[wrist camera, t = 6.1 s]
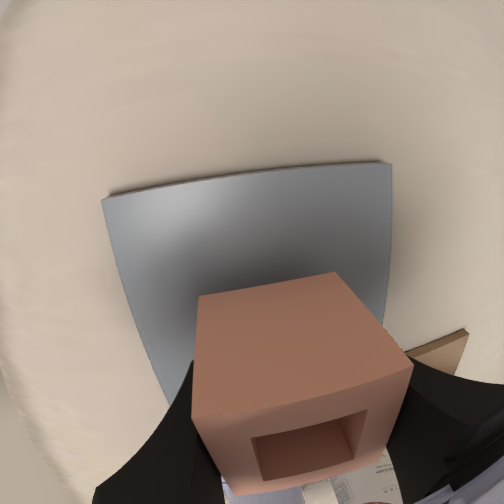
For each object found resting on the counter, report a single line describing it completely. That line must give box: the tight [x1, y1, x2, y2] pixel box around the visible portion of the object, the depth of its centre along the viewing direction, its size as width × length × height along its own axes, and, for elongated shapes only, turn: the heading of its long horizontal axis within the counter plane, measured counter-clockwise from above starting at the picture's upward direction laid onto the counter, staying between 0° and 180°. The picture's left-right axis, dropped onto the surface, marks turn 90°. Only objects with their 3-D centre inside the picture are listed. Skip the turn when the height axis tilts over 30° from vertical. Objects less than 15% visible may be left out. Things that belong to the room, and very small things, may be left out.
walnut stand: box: [405, 329, 469, 375], centre depth 17 cm, size 8×8×4 cm
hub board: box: [101, 162, 392, 406], centre depth 12 cm, size 14×13×6 cm
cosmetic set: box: [330, 447, 403, 504], centre depth 17 cm, size 25×9×19 cm, turn 70°
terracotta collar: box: [191, 272, 414, 496], centre depth 10 cm, size 6×6×6 cm
